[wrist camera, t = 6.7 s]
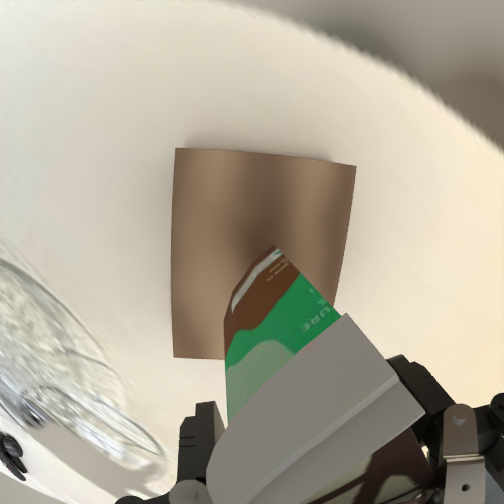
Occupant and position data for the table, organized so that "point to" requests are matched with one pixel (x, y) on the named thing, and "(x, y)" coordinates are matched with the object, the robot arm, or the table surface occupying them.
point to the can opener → (12, 456)
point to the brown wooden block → (248, 232)
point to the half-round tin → (309, 402)
